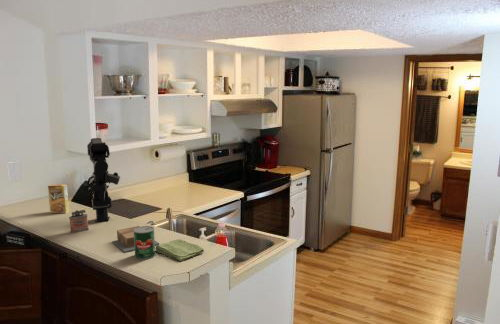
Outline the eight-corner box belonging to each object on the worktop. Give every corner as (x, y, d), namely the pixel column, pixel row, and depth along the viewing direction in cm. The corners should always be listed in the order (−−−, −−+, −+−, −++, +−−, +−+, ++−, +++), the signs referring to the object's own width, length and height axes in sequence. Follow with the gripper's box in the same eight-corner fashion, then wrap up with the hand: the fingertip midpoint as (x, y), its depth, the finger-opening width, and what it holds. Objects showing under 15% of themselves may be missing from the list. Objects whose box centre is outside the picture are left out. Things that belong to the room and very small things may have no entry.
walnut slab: (116, 230, 188) (126, 238, 178) (138, 225, 194) (150, 233, 183) (117, 239, 189) (127, 247, 178) (139, 234, 194) (150, 242, 184)
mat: (112, 242, 186) (112, 241, 186) (145, 235, 195) (145, 234, 195) (124, 252, 174) (124, 251, 174) (159, 244, 183) (159, 243, 183)
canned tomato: (139, 261, 165) (137, 233, 164) (132, 255, 172) (130, 228, 170) (158, 256, 170) (157, 229, 168) (150, 250, 176) (149, 224, 175)
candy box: (50, 213, 232) (47, 185, 230) (54, 211, 236) (51, 183, 234) (65, 213, 232) (63, 185, 229) (69, 211, 236) (67, 183, 233)
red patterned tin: (71, 233, 198) (69, 212, 197) (69, 231, 201) (67, 211, 200) (89, 230, 203) (87, 209, 201) (87, 228, 206) (86, 208, 204)
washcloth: (180, 263, 164) (180, 255, 163) (153, 252, 176) (153, 244, 175) (206, 253, 173) (206, 246, 173) (178, 243, 185) (178, 236, 185)
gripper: (115, 172, 194) (118, 205, 196) (120, 165, 212) (122, 196, 214) (89, 173, 192) (92, 207, 194) (96, 166, 210) (99, 197, 212)
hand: (102, 201), depth 204 cm, fingers closed
